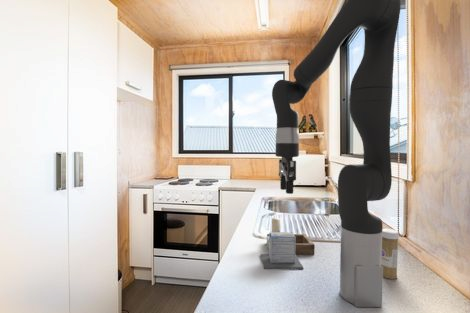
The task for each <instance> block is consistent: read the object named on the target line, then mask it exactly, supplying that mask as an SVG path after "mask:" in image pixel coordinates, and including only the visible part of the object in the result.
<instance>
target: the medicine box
mask: <svg viewBox="0 0 470 313" xmlns="http://www.w3.org/2000/svg"><path fill="white" fill-rule="evenodd" d="M268 234H269V249H268V254H269V258H270V261H271V263H295V255H296V254H295V248H296V237H295V236H294V234H295V233H293V232H288V231H287V232H286V231H284V232H281V231H280V232H272V231H271V232H269V233H268Z"/></svg>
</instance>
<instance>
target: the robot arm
mask: <svg viewBox="0 0 470 313" xmlns="http://www.w3.org/2000/svg"><path fill="white" fill-rule="evenodd" d="M401 3H402V2H401V0H346V1H345V3H344V4H343V6H342V7H341V9H340V11H339V12H338V13H337V14H336V16H335V17H334V19H333V21H332V22H331V23H330V25H329V26H328V27H327V29H326V31H325V32H324V33H323V35H322V37H320V40H318V42H317V43H316V45H315V46H314V47H313V49H312V50H311V51H310V52H309V53H308V54H307V55H306V56H305V57H304V58H303V59H302V60H301V61H300V63H299V64H298V65H297V66H296V67H295V69H294V70H293V77H294V79H295V80H294V81H292V80H286V79H279V80H277V81H276V82H275V83H274V84H273V87H272V89H271V90H272V91H271V97H272V102H273V106H274V110H275V114H276V132H275V157H277V158H278V157H279V158H280V157H281V159H279V160H278V176H279V178H280V181H279V182H280V184H279V185H280V187H279V188H280V190H281V191H282V190H283V191H284V190H285V193H286V194H289V195H292V194H294V182H295V181H296V180H297V161H296V160H294V159H293V158H297V157H299V156H300V133H299V121H300V120H299V116H300V115H299V113H298V111H297V110H296V109H293V108H292V107H291V105H295V104H298V103H299V102H301V101H302V100H304V98H305V97H306V95H307V93H308V92H309V90H310V89H311V87H312V85H313V84H314V83H315V82H316V81H317V80H318V79H319V78H320V77H322V75H324V74H325V73H326V71H327V70H328V69H329V68H330V66H331V65H332V63H333V61H334V59H335V56H336V54H337V52H338V51H339V48H340V47H341V45H342V43H343V42H344V40H345V39H346V38H347V37H348V36H349V35H350V34H352V33H353V32H354V31H355V30H356V29H358V28H359V27H360V28H362V29H363V31H364V46H363V49H364V50H363V54H362V58H361V60H360V62H359V65H358V66H357V69H356V71H355V73H354V75H353V77H352V80H351V82H350V89H349V105H348V107H349V114H350V117H351V120H352V122H353V124H354V126H355V128H356V130H357V132H358V134H359V136H360V139H361V141H362V146H363V162H362V163H352V164H350V163H349V164H347V165H345V166H343V167H342V168H341V169H340V171H339V174H338V177H337V178H338V180H337V197H338V198H337V199H338V200H337V201H338V203H337V205H338V206H337V208H338V213H339V214H338V215H339V218H340V224H341V226H340V254H339V256H340V257H339V258H340V260H339V266H340V267H339V294H340V296H341V297H342V298H343V299H344V300H346V301H347V302H349V304H350V303H351V304H353V305H354V306H355V307H356V308H382V307H383V281H384V280H383V278H384V277H383V268H382V266H381V258H382V229H383V221H382V218H380V217H378V216H376V215H373V214H371V213H370V212H369V208H368V202H374V201H377V202H378V201H381V200H383V199H384V200H385V199H386V198H387V196H389V193H390V191H391V189H392V181H393V179H392V178H393V177H392V161H391V160H392V159H391V117H392V105H393V104H392V103H393V89H394V88H393V87H394V86H393V85H394V83H393V80H394V79H393V78H394V65H395V64H394V63H395V62H394V60H395V46H396V39H397V32H398V27H399V26H398V25H399V21H400V15H401Z"/></svg>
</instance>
